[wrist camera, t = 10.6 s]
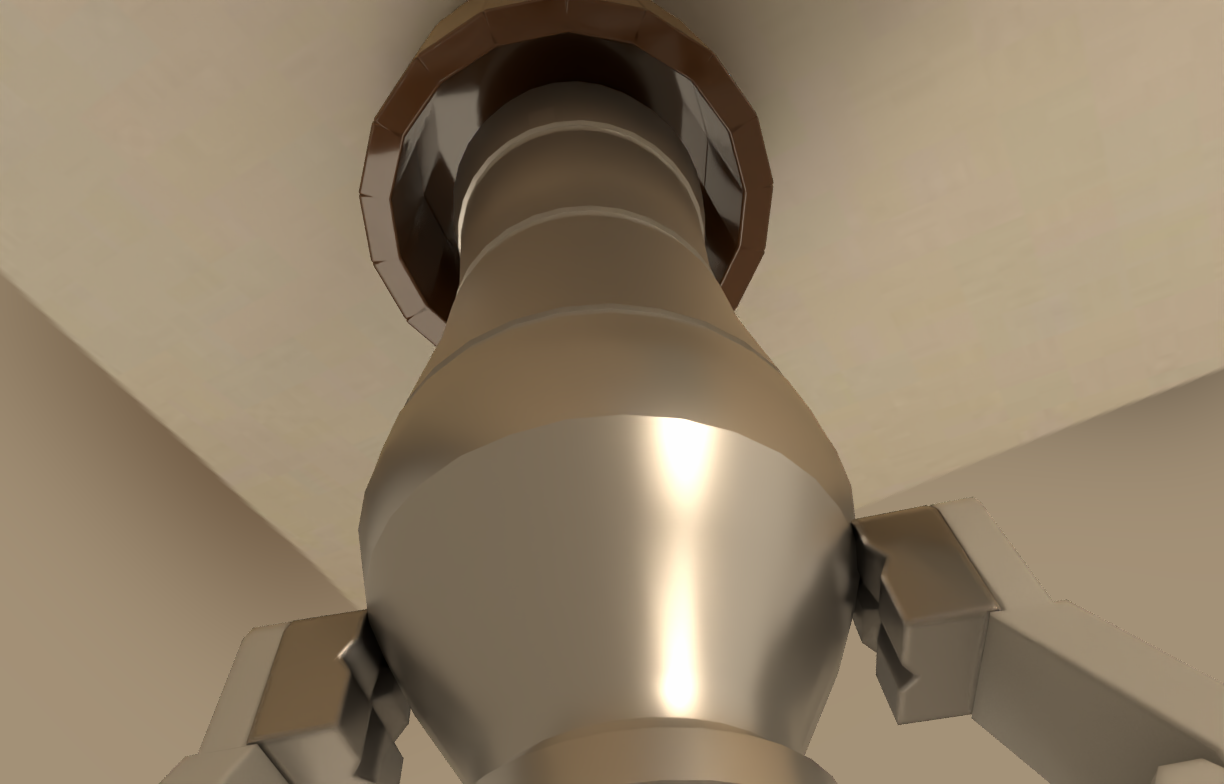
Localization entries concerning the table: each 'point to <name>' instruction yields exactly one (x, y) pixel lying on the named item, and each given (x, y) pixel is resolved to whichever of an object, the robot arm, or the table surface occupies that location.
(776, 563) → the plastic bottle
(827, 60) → the table surface
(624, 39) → the cup
